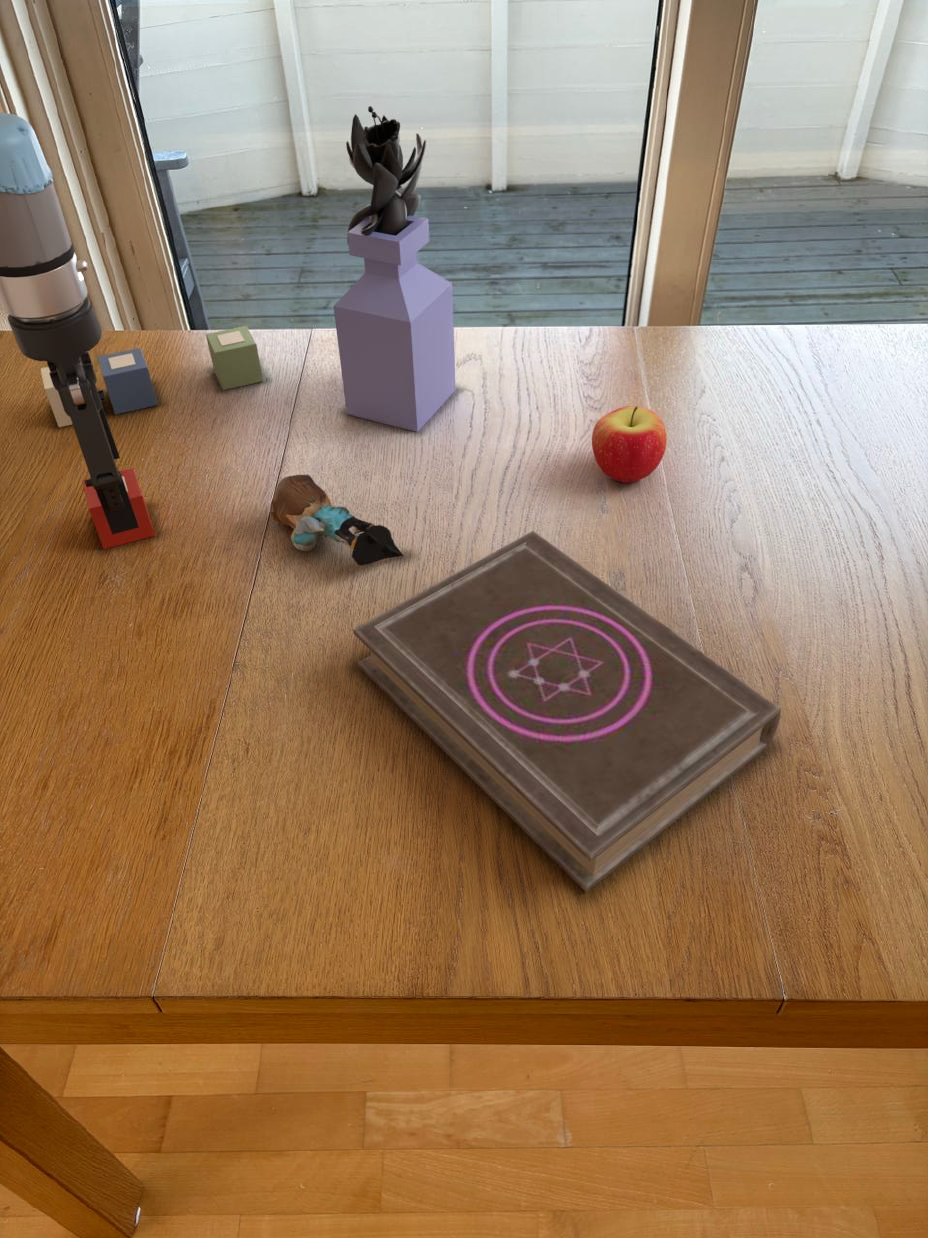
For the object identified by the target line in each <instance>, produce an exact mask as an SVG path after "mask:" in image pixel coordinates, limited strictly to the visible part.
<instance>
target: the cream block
mask: <svg viewBox="0 0 928 1238" xmlns="http://www.w3.org/2000/svg"><path fill="white" fill-rule="evenodd" d="M40 373H41V378H42V384H43V390H44V392H45V395H46V398H47V400H48V403H49V406H50V408H51V410H52V413H53V416H54V419H55V421H56V424H57V427H58V428H63V427H68V426H73V424H72V421H71V418H70V417H69V416H68V415H67V414H66V413H65V411H64V408H63V405H62V402H61V399H60V396H59V393H58V391H57V390H56V389H55V387H54V386H53V383H52V380H51V377H50V374H49V373H50V370H49V367H48V366H46V367H45V366H44V367H41V368H40Z"/></svg>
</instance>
